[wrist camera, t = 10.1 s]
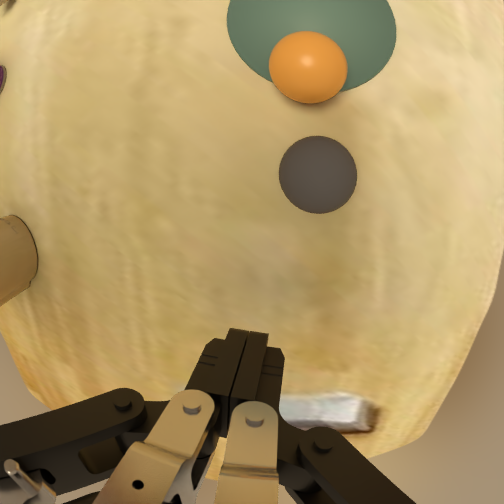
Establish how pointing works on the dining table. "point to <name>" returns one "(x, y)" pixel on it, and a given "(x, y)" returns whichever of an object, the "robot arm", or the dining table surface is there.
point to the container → (2, 77)
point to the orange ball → (308, 67)
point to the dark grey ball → (317, 174)
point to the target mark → (317, 20)
